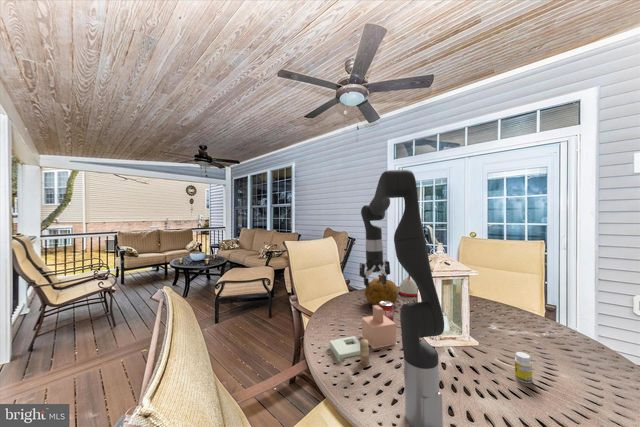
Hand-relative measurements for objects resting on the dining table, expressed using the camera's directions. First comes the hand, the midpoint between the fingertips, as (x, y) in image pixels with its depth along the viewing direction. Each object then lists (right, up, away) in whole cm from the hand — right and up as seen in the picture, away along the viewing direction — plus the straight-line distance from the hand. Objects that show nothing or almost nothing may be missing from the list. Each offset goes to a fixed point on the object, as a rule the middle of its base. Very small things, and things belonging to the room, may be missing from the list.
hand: (375, 285), depth 117 cm
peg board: (-13, -27, -6) cm, 30 cm away
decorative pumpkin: (+14, -25, +46) cm, 54 cm away
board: (+2, -26, 0) cm, 26 cm away
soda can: (+9, -26, +16) cm, 32 cm away
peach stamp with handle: (+2, -25, 0) cm, 25 cm away
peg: (-8, -27, -17) cm, 33 cm away
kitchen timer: (+39, -24, +67) cm, 81 cm away
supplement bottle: (+46, -25, -27) cm, 59 cm away
